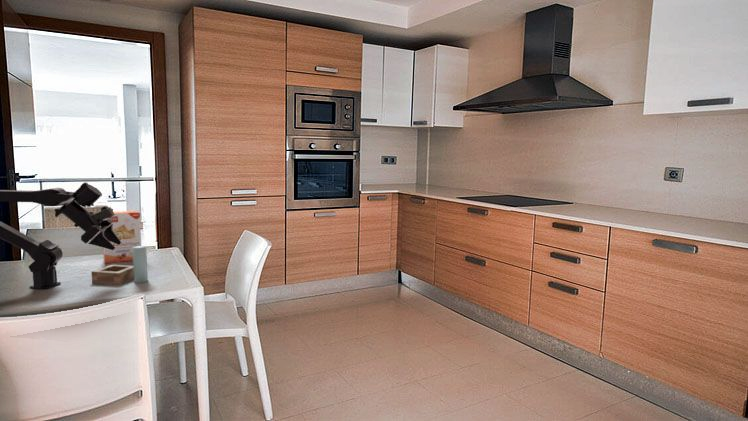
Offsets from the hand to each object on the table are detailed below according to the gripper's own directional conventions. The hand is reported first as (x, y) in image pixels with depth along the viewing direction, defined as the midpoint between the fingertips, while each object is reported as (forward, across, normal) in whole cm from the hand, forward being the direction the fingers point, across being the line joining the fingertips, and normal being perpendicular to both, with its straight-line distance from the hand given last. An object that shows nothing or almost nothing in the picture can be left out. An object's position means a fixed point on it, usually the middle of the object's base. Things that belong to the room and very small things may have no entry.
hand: (117, 246), depth 165 cm
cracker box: (+6, +34, +14) cm, 37 cm away
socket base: (+8, +4, +11) cm, 14 cm away
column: (+14, 0, +4) cm, 15 cm away
